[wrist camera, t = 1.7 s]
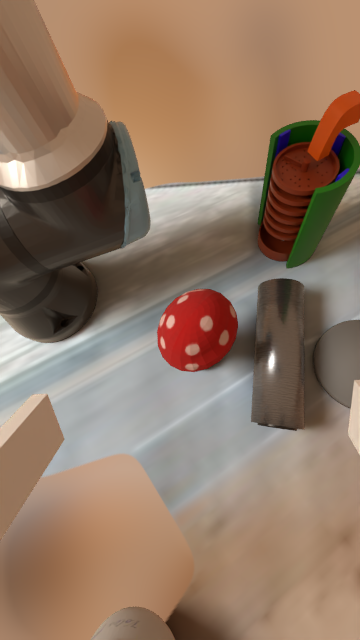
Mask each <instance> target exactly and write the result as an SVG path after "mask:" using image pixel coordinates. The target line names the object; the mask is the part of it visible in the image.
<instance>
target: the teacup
mask: <svg viewBox="0 0 360 640" xmlns="http://www.w3.org/2000/svg"><path fill="white" fill-rule="evenodd" d="M91 640H175V638H174V636H173V634H172V632H171V630H170V629H169V627H168V626H167V625H166V623H165V622H164V621H163V620H162V619H161V618H160V617H159V616H158V615H156V614H155V613H154V612H152V611H150V610H148V609H145V608H141V607H128V608H124V609H121V610H120V611H117V612H115V613H114V614H112V615H111V616H110V617H108V618H107V619H106V620H105V621H104V622H103V623H102V624H101V626H100V627H99V628H98V630H97V631H96V632H95V634H94V635H93V637H92V638H91Z"/></svg>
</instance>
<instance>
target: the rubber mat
mask: <svg viewBox="0 0 360 640" xmlns="http://www.w3.org/2000/svg"><path fill="white" fill-rule="evenodd" d="M313 363H314V369H315V373H316V376H317V378H318V380H319V382H320V384H321V385H322V387H323V388H324V390H325V391H326V392H327V393H328V394H329V395H330V396H331V397H332V398H333V399H335V400H336V401H337V402H339V403H340V404H342V405H344V406H346V407H348V408H350V409H351V403H352V394H353V386H354V380H360V320H351V321H346V322H342V323H339V324H337V325H335V326H333V327H332V328H330V329H329V330H328V331H326V332H325V333H324V334H323V335H322V336H321V338H320V339H319V341H318V343H317V344H316V347H315V350H314V356H313Z"/></svg>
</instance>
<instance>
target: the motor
mask: <svg viewBox="0 0 360 640" xmlns="http://www.w3.org/2000/svg"><path fill="white" fill-rule="evenodd" d="M359 119H360V94H359V93H358V92H357V91H355V90H354V91H351V92H348V93H346V94H343V95H341V96H340V97H338V98H337V99H335V100H334V101H333V102H332V103H331V105H330V106H329V107H328V109H327V110H326V112H325V113H324V115H323V118H322V119H321V121H317V120H313V121H312V120H310V121H301V122H296V123H293V124H290V125H287V126H285V127H283V128H281V129H279V130H278V131H276V132H275V133H273V134H272V135H271V138H270V145H269V152H268V158H267V164H266V171H265V178H264V184H263V191H262V198H261V204H260V211H259V218H258V224H259V225H260V229H259V235H258V246H259V248H260V250H261V252H262V253H263V254H264V255H265V256H267V257H268V258H270V259H272V260H276V261H287V264H286V267H287V268H292V267H296V266H299V265H301V264H303V263H304V262H306V261H307V260H308V259H309V258H310V257H311V256H312V254H313V253H314V251H315V249H316V247H317V245H318V243H319V241H320V240H321V238H322V236H323V234H324V232H325V230H326V228H327V226H328V224H329V223H330V221H331V219H332V217H333V215H334V213H335V211H336V209H337V207H338V205H339V204H340V202H341V200H342V198H343V196H344V194H345V192H346V190H347V188H348V187H349V185H350V183H351V181H352V179H353V177H354V175H355V173H356V171H357V170H358V168H359V165H360V146H359V143H358V141H357V140H356V138H355V137H354V136H353V135H352V134H351V133H350V132H349V131H347V130H346V129H344V128H346V127H348V126H350V125H352V124H355V123H357V122H358V121H359ZM281 240H284V241H281Z"/></svg>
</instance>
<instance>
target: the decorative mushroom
mask: <svg viewBox="0 0 360 640" xmlns="http://www.w3.org/2000/svg"><path fill="white" fill-rule="evenodd" d="M237 329H238V321H237V314H236V311H235V310H234V308H233V306H232V304H231V302H230V301H229V300H228V299H227V298H225V297H224V296H223V295H222V294H221V293H219V292H216V291H213V290H211V289H196V290H192V291H189V292H186V293H184V294H183V295H181V296H179V297H177V298H176V299H175V300H174V301H173V302H172V303H171V304H170V305H169V306H168V307H167V308H166V310H165V312H164V313H163V315H162V317H161V319H160V323H159V327H158V332H157V335H158V347H159V349H160V352H161V354H162V357H163V358H164V359H165V360H166V361H167V362H168V363H169V364H170V365H171V366H173V367H175V368H177V369H179V370H181V371H190V372H195V371H200V370H204V369H208V368H209V367H211V366H213V365H214V364H216V363H218V362H219V361H220V360H221V359H222V358H223V357H224V356H225V355H226V354H227V353H228V352H229V351H230V349H231V347H232V345H233V343H234V341H235V339H236V334H237Z"/></svg>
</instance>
